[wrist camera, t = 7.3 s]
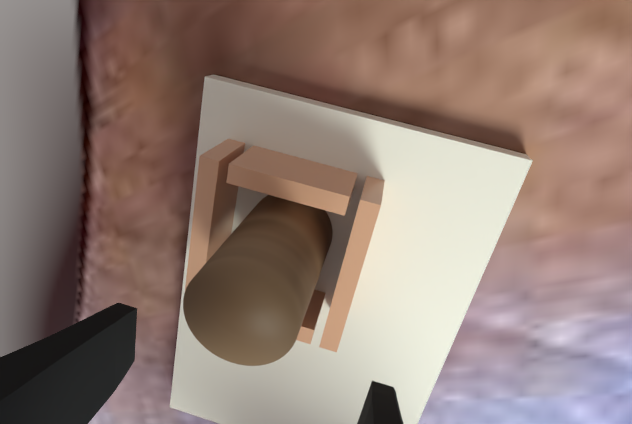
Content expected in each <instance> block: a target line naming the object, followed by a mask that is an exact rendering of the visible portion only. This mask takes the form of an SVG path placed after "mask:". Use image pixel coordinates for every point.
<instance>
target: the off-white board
mask: <svg viewBox="0 0 632 424" xmlns="http://www.w3.org/2000/svg"><path fill="white" fill-rule="evenodd" d="M227 139H232V140H236V141H240V142H243V143H245V147H244V152H245V151H247V150H248V149H249V148H251V147H252V146H253V145H254V146H258V147H262V148H266V149H269V150H273V151H277V152H281V153H284V154H288V155H292V156H295V157H299V158H303V159H307V160H310V161H314V162H318V163H322V164H325V165H329V166H333V167H336V168H340V169H344V170H348V171H351V172H355V173H358V175H357V179H356V183H355V186H354V190H353V193H352V196H351V199H350V202H349V205H348V208H347V211H346V214H345V216H344V215H340V214H336V213H333V212H329V211H326V210H325V211H326V212H327V214H328V216H329V218H330V221H331V224H332V231H333V234H332V242H331V245H330V248H329V250H328V253H327V256H326V259H325V261H324V264H323V267H322V270H321V273H320V275H319V278H318V281H317V284H316V286H315V289H314V290H318V291H321V292H325V293H326V294H325V298H324V302H323V305H322V309H321V312H320V315H319V318H318V321H317V325H316V328H315V331H314V334H313V338H312V341H311V344H308V343H304V342H301V341H298V340H296V342H295V343H294V345H293V347H292V348H291V350H290V351H289V352H288V353H287V354H286V355H285V356H283V357H282V358H280V359H279V360H277V361H275V362H272V363H269V364H266V365H260V366H245V365H239V364H235V363H231V362H229V361H226V360H224V359H222V358H219V357H218V356H216V355H214V354H213V353H211V352H210V351H209V350H207V349H206V348H205V347H204V346H203V345H202V344H201V343H200V342H199V341H198V340H197V339H196V338H195V336H194V335H193V334H192V332H191V330H190V329H189V327H188V324H187V322H186V319H185V316H184V310H183V298H184V293H185V285H186V276H187V267H188V258H189V249H190V239H191V230H192V221H193V212H194V203H195V193H196V184H197V175H198V166H199V157H200V155H202V154H203V153H205V152H207V151H208V150H210V149H212V148H213V147H215V146H217V145H218V144H220V143H222V142H223V141H225V140H227ZM531 163H532V160H531V159H530V157H529V156H528V155H527V154H523V153H519V152H515V151H511V150H508V149H504V148H500V147H496V146H492V145H488V144H484V143H480V142H476V141H472V140H468V139H465V138H461V137H457V136H453V135H449V134H445V133H441V132H437V131H433V130H429V129H425V128H421V127H418V126H414V125H410V124H406V123H402V122H398V121H394V120H390V119H386V118H382V117H378V116H374V115H371V114H367V113H363V112H359V111H355V110H351V109H347V108H343V107H339V106H335V105H331V104H328V103H324V102H320V101H316V100H312V99H308V98H304V97H300V96H296V95H292V94H288V93H284V92H281V91H277V90H273V89H269V88H265V87H261V86H257V85H253V84H249V83H245V82H241V81H238V80H234V79H230V78H226V77H222V76H218V75H210V76H205V78H204V88H203V97H202V107H201V116H200V126H199V135H198V145H197V154H196V163H195V173H194V182H193V192H192V201H191V211H190V220H189V230H188V239H187V249H186V258H185V268H184V277H183V287H182V296H181V305H180V315H179V324H178V334H177V343H176V353H175V362H174V372H173V381H172V391H171V400H170V408H173V409H176V410H179V411H183V412H186V413H189V414H192V415H195V416H198V417H201V418H204V419H207V420H210V421H213V422H216V423H219V424H357V422H358V420H359V417H360V414H361V411H362V408H363V405H364V402H365V400H366V397H367V394H368V391H369V388H370V385H371V382H372V381H375V382H379V383H382V384H385V385H388V386H392V387H394V389H395V391H396V395H397V400H398V404H399V408H400V412H401V416H402V420H403V424H417V423H418V421H419V419H420V417H421V414H422V412H423V410H424V408H425V405H426V403H427V401H428V398H429V396H430V394H431V392H432V389H433V387H434V385H435V382H436V380H437V378H438V376H439V373H440V371H441V369H442V366H443V364H444V362H445V360H446V357H447V355H448V353H449V350H450V348H451V346H452V344H453V341H454V339H455V337H456V334H457V332H458V330H459V328H460V325H461V323H462V321H463V318H464V316H465V314H466V312H467V309H468V307H469V305H470V302H471V300H472V298H473V296H474V293H475V291H476V289H477V287H478V284H479V282H480V280H481V277H482V275H483V273H484V271H485V268H486V266H487V264H488V261H489V259H490V257H491V255H492V252H493V250H494V248H495V245H496V243H497V241H498V239H499V236H500V234H501V232H502V229H503V227H504V225H505V223H506V220H507V218H508V216H509V213H510V211H511V209H512V207H513V204H514V202H515V200H516V197H517V195H518V193H519V191H520V188H521V186H522V184H523V181H524V179H525V177H526V175H527V172H528V170H529V168H530V166H531ZM367 176H370V177H374V178H377V179H381V180H385V183H384V189H383V196H382V202H381V207H380V210H379V214H378V217H377V220H376V224H375V227H374V230H373V234H372V237H371V240H370V244H369V247H368V250H367V254H366V257H365V260H364V263H363V267H362V270H361V273H360V277H359V280H358V283H357V287H356V290H355V293H354V297H353V300H352V303H351V307H350V310H349V313H348V317H347V320H346V323H345V326H344V330H343V333H342V336H341V340H340V343H339V346H338V350H337V352H334V351H330V350H327V349H324V348H321V347H319V346H320V342H321V339H322V335H323V331H324V328H325V324H326V321H327V317H328V313H329V310H330V306H331V303H332V299H333V295H334V292H335V288H336V285H337V281H338V278H339V274H340V270H341V267H342V263H343V260H344V256H345V252H346V249H347V245H348V242H349V238H350V234H351V231H352V227H353V224H354V220H355V216H356V213H357V209H358V206H359V202H360V199H361V195H362V191H363V188H364V184H365V181H366V177H367ZM267 195H268V194H265V193H261V192H257V191H254V190H250V189H247V188H243V187H238V193H237V200H236V207H235V213H234V220H233V226H232V233H233V231H234V230H235V229H236V228H237V227H238V226H239V224H240V223H241V222H242V221H243V220H244V219H245V218H246V216H247V215H248V214H249V213H250V212H251V211H252V210H253V208H254V207H255V206H256V205H257V204H258V203H259V201H261V200H262V199H263V198H264V197H266V196H267ZM232 233H231V234H232Z"/></svg>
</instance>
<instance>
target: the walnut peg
mask: <svg viewBox="0 0 632 424" xmlns="http://www.w3.org/2000/svg"><path fill="white" fill-rule="evenodd" d="M332 234H333V231H332V224H331V221H330V218H329V216H328V214H327V212H326V211H325V210H322V209H318V208H315V207H311V206H308V205H304V204H301V203H297V202H293V201H290V200H286V199H283V198H279V197H275V196H272V195H267V196H266V197H264V198H263V199H262V200H261V201H259V203H258V204H257V205H256V206H255V207H254V208H253V210H252V211H251V212H250V213H249V214H248V215H247V216H246V218H245V219H244V220H243V221H242V222H241V223H240V224H239V226H238V227H237V228H236V229H235V230H234V231H233V233H232V234H231V235H230V236H229V237H228V238H227V239H226V241H225V242H224V243H223V244H222V245H221V246H220V248H219V249H218V250H217V251H216V252H215V253H214V254H213V256H212V257H211V258H210V259H209V260H208V261H207V262H206V264H205V265H204V266H203V267H202V268H201V269H200V271H199V272H198V273H197V274H196V275H195V276H194V277H193V279H192V280H191V281H190V282H189V284H188V286H187V288H186V291H185V293H184V298H183V310H184V316H185V319H186V322H187V324H188V327H189V329H190V330H191V332H192V334H193V335H194V336H195V338H196V339H197V340H198V341H199V342H200V343H201V344H202V345H203V346H204V347H205V348H206V349H207V350H209V351H210V352H211V353H213V354H214V355H216V356H218V357H219V358H222V359H224V360H226V361H229V362H231V363H235V364H239V365H245V366H260V365H266V364H269V363H272V362H275V361H277V360H279V359H280V358H282V357H283V356H285V355H286V354H287V353H288V352H289V351H290V350H291V348H292V347H293V345H294V343H295V342H296V339H297V336H298V333H299V331H300V328H301V325H302V322H303V320H304V317H305V314H306V311H307V309H308V306H309V303H310V300H311V297H312V295H313V292H314V289H315V286H316V284H317V281H318V278H319V275H320V273H321V270H322V267H323V264H324V261H325V259H326V256H327V253H328V250H329V248H330V245H331V242H332Z"/></svg>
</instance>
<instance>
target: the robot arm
mask: <svg viewBox="0 0 632 424" xmlns="http://www.w3.org/2000/svg"><path fill="white" fill-rule="evenodd" d="M136 319H137V308H134V307H131V306H127V305H124V304H121V303H117V304H114V305H112V306H110V307H108V308H106V309H104V310H102V311H100V312H98V313H96V314H94V315H92V316H90V317H88V318H86V319H84V320H82V321H80V322H78V323H76V324H74V325H72V326H70V327H68V328H66V329H63V330H61V331H59V332H57V333H55V334H53V335H51V336H49V337H47V338H44V339H42V340H40V341H37V342H35V343H33V344H31V345H28V346H26V347H24V348H21V349H19V350H17V351H14V352H12V353H10V354H7V355H5V356H3V357H0V424H88V423H89V421H90V420H91V419H92V418H93V417H94V415H95V414H96V413H97V412H98V411H99V409H100V408H101V407H102V406H103V405H104V403H105V402H106V401H107V400H108V399H109V397H110V396H111V395H112V394H113V392H114V391H115V390H116V388H117V387H118V385H119V384H120V382H121V381H122V379H123V378H124V376H125V375H126V373H127V371H128V370H129V368H130V367H131V365H132V364H133V362H134V359H135V339H136ZM357 424H403V420H402V416H401V412H400V408H399V404H398V400H397V395H396V391H395V389H394V387H392V386H388V385H385V384H382V383H379V382H375V381H372V382H371V385H370V388H369V391H368V394H367V397H366V400H365V402H364V405H363V408H362V411H361V414H360V417H359V420H358V422H357Z"/></svg>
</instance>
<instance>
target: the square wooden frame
mask: <svg viewBox="0 0 632 424" xmlns="http://www.w3.org/2000/svg"><path fill="white" fill-rule="evenodd" d="M244 147H245V143H243V142H240V141H236V140H232V139H227V140H225V141H223V142H222V143H220V144H218V145H217V146H215V147H213V148H212V149H210V150H208V151H207V152H205V153H203V154H202V155H200V157H199V166H198V175H197V184H196V193H195V203H194V212H193V221H192V230H191V239H190V249H189V258H188V267H187V276H186V285H185V291H186V288H187V286H188V284H189V282H190V281H191V280H192V279H193V277H194V276H195V275H196V274H197V273H198V272H199V271H200V269H201V268H202V267H203V266H204V265H205V264H206V262H207V261H208V260H209V259H210V258H211V257H212V256H213V254H214V253H215V252H216V251H217V250H218V249H219V248H220V246H221V245H222V244H223V243H224V242H225V241H226V239H227V238H228V237H229V236H230V235H231V233H232V226H233V220H234V213H235V207H236V200H237V193H238V187H243V188H247V189H250V190H254V191H257V192H261V193H265V194H268V195H272V196H275V197H279V198H283V199H286V200H290V201H293V202H297V203H301V204H304V205H308V206H311V207H315V208H318V209H322V210H326V211H329V212H333V213H336V214H340V215H344V216H345V214H346V211H347V208H348V205H349V202H350V199H351V196H352V193H353V190H354V186H355V183H356V179H357V175H358V173H355V172H351V171H348V170H344V169H340V168H336V167H333V166H329V165H325V164H322V163H318V162H314V161H310V160H307V159H303V158H299V157H295V156H292V155H288V154H284V153H281V152H277V151H273V150H269V149H266V148H262V147H258V146H254V145H253V146H252V147H251V148H249V149H248V150H247V151H245V152H244ZM384 183H385V180H381V179H377V178H374V177H370V176H367V177H366V181H365V184H364V188H363V191H362V195H361V199H360V202H359V206H358V209H357V213H356V216H355V220H354V224H353V227H352V231H351V234H350V238H349V242H348V245H347V249H346V252H345V256H344V260H343V263H342V267H341V270H340V274H339V278H338V281H337V285H336V288H335V292H334V295H333V299H332V303H331V306H330V310H329V313H328V317H327V321H326V324H325V328H324V331H323V335H322V339H321V342H320V346H319V347H321V348H324V349H327V350H330V351H334V352H337V350H338V346H339V343H340V340H341V336H342V333H343V330H344V326H345V323H346V320H347V317H348V313H349V310H350V307H351V303H352V300H353V297H354V293H355V290H356V287H357V283H358V280H359V277H360V273H361V270H362V267H363V263H364V260H365V257H366V254H367V250H368V247H369V244H370V240H371V237H372V234H373V230H374V227H375V224H376V220H377V217H378V214H379V210H380V207H381V202H382V196H383V189H384ZM325 294H326V293H325V292H321V291H318V290H314V292H313V295H312V297H311V300H310V303H309V306H308V309H307V311H306V314H305V317H304V320H303V322H302V325H301V328H300V331H299V333H298V336H297V339H296V340H298V341H301V342H304V343H308V344H311V341H312V338H313V334H314V331H315V328H316V325H317V321H318V318H319V315H320V312H321V309H322V305H323V302H324V298H325Z"/></svg>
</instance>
